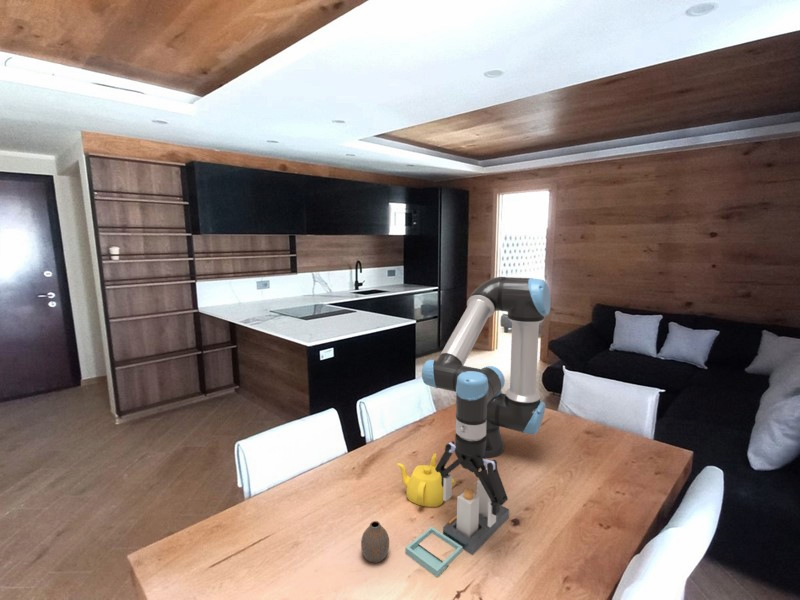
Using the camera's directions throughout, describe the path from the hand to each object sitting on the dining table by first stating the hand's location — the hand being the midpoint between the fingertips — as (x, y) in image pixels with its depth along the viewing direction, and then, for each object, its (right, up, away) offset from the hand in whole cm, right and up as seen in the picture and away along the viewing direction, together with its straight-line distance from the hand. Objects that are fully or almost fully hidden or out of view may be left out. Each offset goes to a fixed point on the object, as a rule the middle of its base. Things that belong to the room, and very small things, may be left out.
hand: (468, 510), depth 101 cm
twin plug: (+6, -6, +7) cm, 11 cm away
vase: (-24, -9, -5) cm, 26 cm away
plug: (0, -7, +1) cm, 7 cm away
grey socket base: (+3, -7, +4) cm, 9 cm away
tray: (-9, -9, -4) cm, 13 cm away
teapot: (-10, -5, +18) cm, 21 cm away
